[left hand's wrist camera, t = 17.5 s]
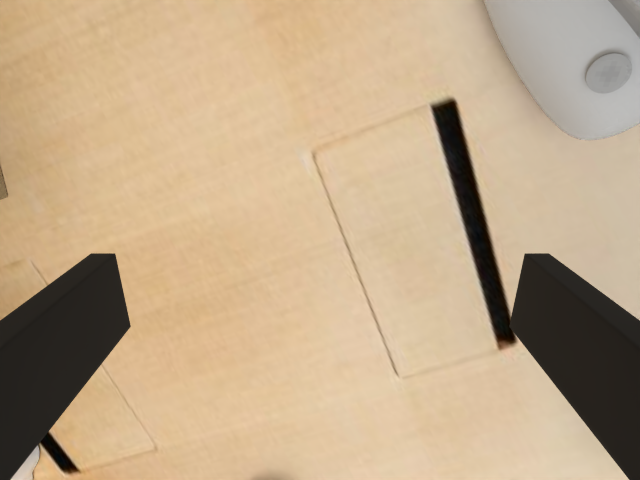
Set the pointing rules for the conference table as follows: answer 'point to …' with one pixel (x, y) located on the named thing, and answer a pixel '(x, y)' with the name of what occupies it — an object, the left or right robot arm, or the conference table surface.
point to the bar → (2, 187)
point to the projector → (576, 60)
